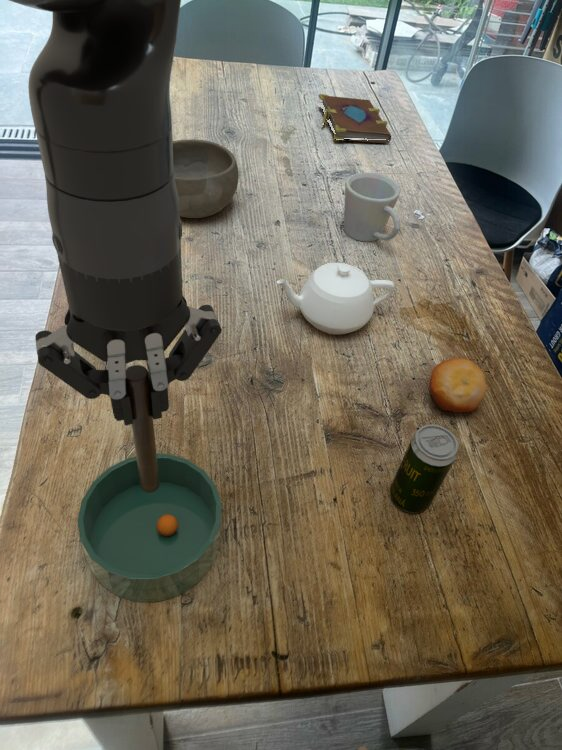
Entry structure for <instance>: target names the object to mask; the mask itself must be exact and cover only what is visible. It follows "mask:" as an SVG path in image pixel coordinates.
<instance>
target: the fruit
mask: <svg viewBox="0 0 562 750" xmlns="http://www.w3.org/2000/svg"><path fill="white" fill-rule="evenodd" d="M431 371H432V372H431V374H430V375H431V376H430V381H429V386H428V387H429V391H430V393H431V396H432V398H433V400H434V402H435V404H436V406H437V407H438V408H440V409H441V410H443V411H447V412H453V413H465V412H473V411H475V410H476V409H477V408H479V406H480V404H481V402H482V401H483V399H484V397H485V395H486V393H487V391H488V384H487V381H486V376H485V373H484V371H483V370H482V369H480V368H479V367H478V366H477V365H476V364H475V363H474V362H473V361H472V360H470V359H469V358H468V359H467V358H462V357H455V358H449V359H445V360H442V361H441V362H439V363H437V365H435V366H434V367H433V369H432V370H431Z"/></svg>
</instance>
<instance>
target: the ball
mask: <svg viewBox="0 0 562 750" xmlns="http://www.w3.org/2000/svg"><path fill="white" fill-rule="evenodd" d="M177 528H178V522H177V519H176V518H175V517H174V516H172V515H168V514H167V515H163V516H162V517H160V518H159V520H158V522H157V530H158V532H159V533H160V534H161V535H163V536H170V535H172V534H174V533H175V532H176V530H177Z"/></svg>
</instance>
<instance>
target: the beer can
mask: <svg viewBox="0 0 562 750" xmlns="http://www.w3.org/2000/svg"><path fill="white" fill-rule="evenodd" d="M458 449H459V442H458V440H457V438H456V436H455V435H454V434H453V433H452V431H450V430H449V429H447V428H446V427H444V426H441V425H438V424H433V423H431V424H425V425H423V426H421V427H419V429H417V430H416V431H415V433H413V435H412V437H411V438H410V441H409V444H408V446H407V448H406V451H405V453H404V455H403V458H402V460H401V462H400V464H399V466H398V469H397V471H396V473H395V475H394V478H393V480H392V483H391V485H390V490H389V492H390V493H389V494H390V496H391V499H392V502H393V503H394V505H395V506H396V507H397V508H398V509H399V510H401V511H403V512H405V513H409V514H419V513H422V512H424V511H426V510H428V508H430V507H431V504H432V502H433V501H434V499H435V498H436V495H437V494H438V492H439V490H440V488H441V487H442V485H443V483H444V482H445V479H446V477H447V475H448V474H449V472H450V470H451V468H452V466H453V464H454V462H455V461H456V460H457V456H458V451H459V450H458Z"/></svg>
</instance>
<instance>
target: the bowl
mask: <svg viewBox="0 0 562 750" xmlns="http://www.w3.org/2000/svg"><path fill="white" fill-rule="evenodd" d="M173 163H174V177H175V183H176V188H177V193H178V199H179V209H180V218H181V217H182V218H186V219H187V218H188V219H203V218H207V217H210V216H213V215H215V214H217V213H219V212H220V211H223V210H224V209H225V207H227V206H228V205H229V203H230V202H231V201H232V199H233V197H234V196H235V194H236V192H237V188H238V185H239V179H240V177H239V176H240V175H239V168H238V163H237V160H236V157H235V155H234V153H233V152H232V151H231V150H230V149H228V148H226V147H225V146H223V145H220V144H218V143H216V142H214V141H209V140H206V139H205V140H204V139H177V140H173Z"/></svg>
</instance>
